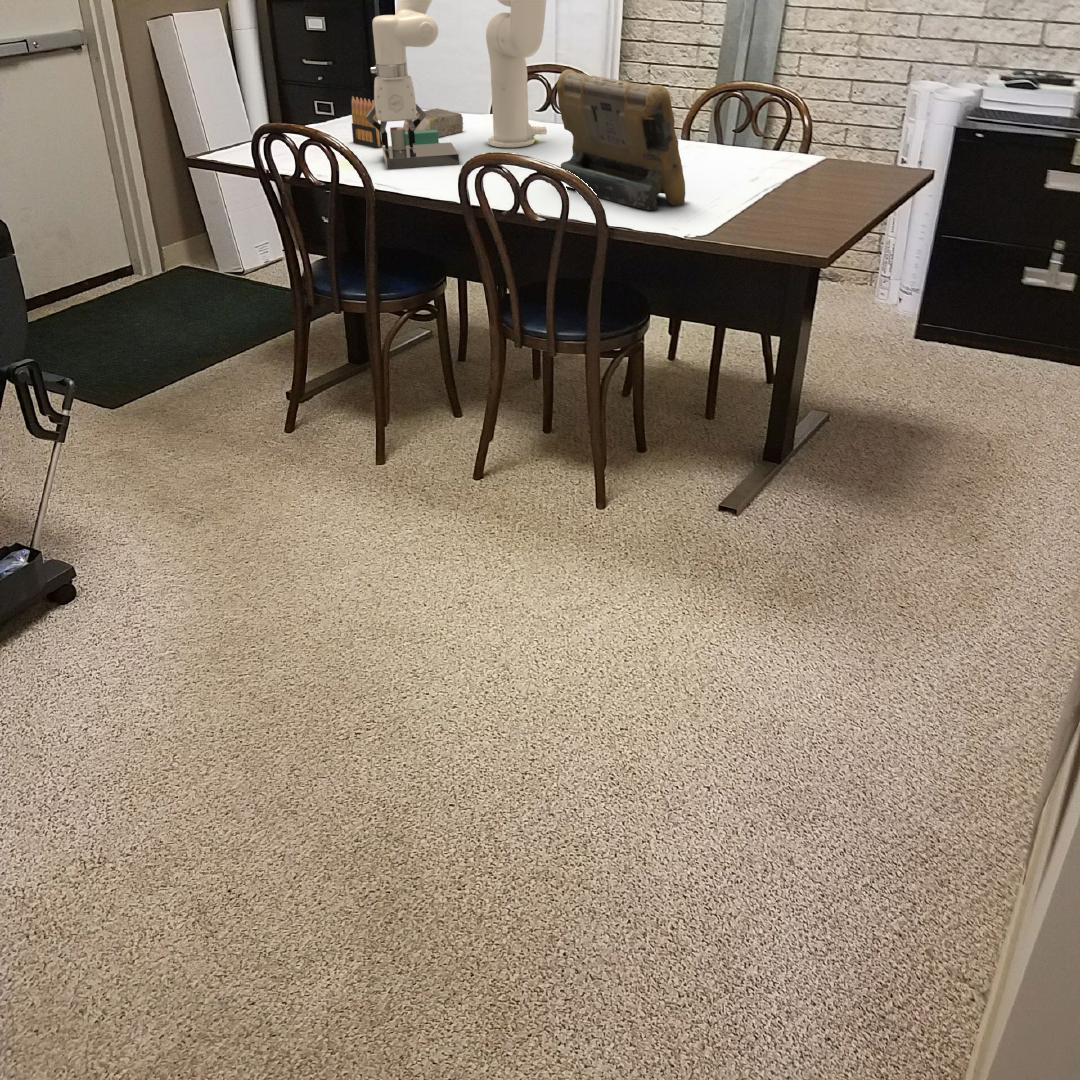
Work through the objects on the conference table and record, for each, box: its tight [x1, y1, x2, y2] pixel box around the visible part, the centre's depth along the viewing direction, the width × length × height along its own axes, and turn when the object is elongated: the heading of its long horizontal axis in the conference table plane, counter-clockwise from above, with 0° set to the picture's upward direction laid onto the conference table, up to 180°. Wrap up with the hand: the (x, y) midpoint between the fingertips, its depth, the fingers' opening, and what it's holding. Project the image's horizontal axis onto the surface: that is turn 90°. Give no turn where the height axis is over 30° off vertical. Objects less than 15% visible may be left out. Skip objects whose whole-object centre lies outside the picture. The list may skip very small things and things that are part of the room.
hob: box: [381, 141, 460, 170], centre depth 271 cm, size 18×14×3 cm
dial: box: [389, 126, 406, 151], centre depth 270 cm, size 4×4×5 cm
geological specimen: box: [402, 108, 464, 138], centre depth 298 cm, size 11×6×15 cm
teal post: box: [405, 130, 440, 145], centre depth 284 cm, size 4×12×4 cm, turn 102°
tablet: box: [556, 68, 686, 212], centre depth 232 cm, size 33×14×25 cm, turn 44°
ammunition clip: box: [351, 95, 383, 149], centre depth 285 cm, size 11×2×12 cm, turn 45°
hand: (398, 146), depth 271 cm, fingers open, 5 cm apart
